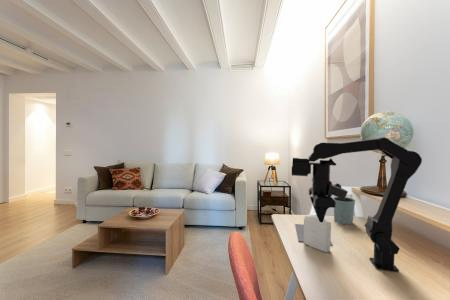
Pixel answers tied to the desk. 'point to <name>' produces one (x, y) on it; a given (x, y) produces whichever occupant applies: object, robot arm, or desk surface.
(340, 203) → the grey-blue cup
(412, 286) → the desk surface
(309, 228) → the photo printer
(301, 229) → the mat
